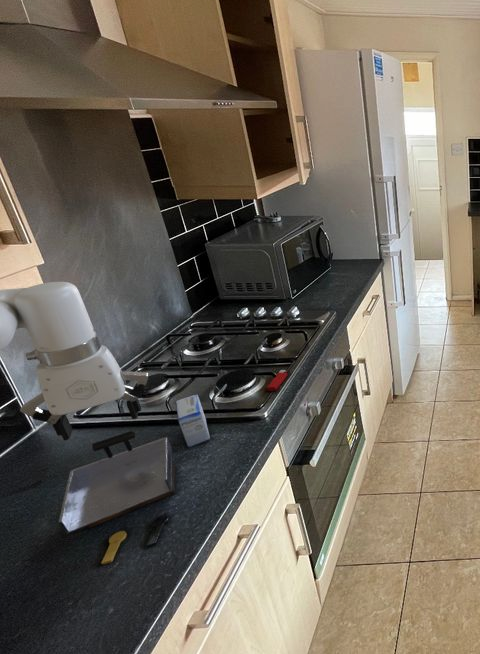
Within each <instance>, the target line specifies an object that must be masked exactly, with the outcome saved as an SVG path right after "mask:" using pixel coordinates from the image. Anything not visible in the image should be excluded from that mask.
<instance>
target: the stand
mask: <svg viewBox="0 0 480 654" xmlns="http://www.w3.org/2000/svg"><path fill="white" fill-rule="evenodd" d="M175 472H176V470H175V467H174V465H173V464H172V491H171V492H169V493H166V494H164V495H161V496H159V497H157V498H154V499H152V500H149V501H147V502H144V503H142V504H140V505H137V506H135V507H132V508H130V509H127V510H125V511H123V512H120V513H118V514H115V515H113V516H110V517H108V518H106V519H103V520H101V521H98V522H96V523H93V524H91V525H89V526H87V527H88V529H91V528H94V527H95V526H98V525H101V524H103V523H105V522H108V521H110V520H113V519H115V518H118V517H120V516H123V515H125V514H127V513H130V512H132V511H134V510H137V509H139V508H142V507H145V506H146V505H149V504H152V503H153V502H156V501H159V500H161V499H164V498H166V497H168V496H171V495H172V494H175V492H176V491H175V489H176V488H175V486H176V485H175V483H176V482H175V481H176V480H175V477H176V476H175V475H176V474H175Z"/></svg>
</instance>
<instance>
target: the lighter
mask: <svg viewBox="0 0 480 654" xmlns="http://www.w3.org/2000/svg"><path fill="white" fill-rule="evenodd" d="M288 375H289V372H288V371H287V370H286V369H280V370H279V372H277V373H276V375H275V376H276V377H275V376H274V377H273V379H272V380H271V382H269V383H268V385H267V386H266V388H265V391H268V392H276V391H277V390H278V389H279V388H280V386H281V384H282V383H283V382H284V381H285V379H286V378H287V377H288Z"/></svg>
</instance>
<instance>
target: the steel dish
mask: <svg viewBox="0 0 480 654" xmlns="http://www.w3.org/2000/svg"><path fill="white" fill-rule="evenodd" d="M135 438H136V433H135V431H134V430H129V431H126V432H123V433H120V434H117V435H114V436H111V437H108V438H105V439H103V440H99V441H96V442H93V443H92V445H91V447H92V450H93V452H99V451H100V450H103V451H104V452H105V454H106V456H107V457H104V458H102V459H99V460H97V461H94V462H91V463H89V464H85V465H82V466H79V467H77V468H74V469H71V470H70V471H69V475H68V478H67V483H66V488H65V492H64V497H63V501H62V506H61V510H60V514H59V519H58V524H59V526H61V528H62V530H63V531H64V532H65V534H66V535H70V534H71V533H72V534H73V533H74V532H77V531H78V530H82V529H84V528H86V527H88V526H89V525H91V524H93V523H96V522H98V521H101V520H103V519H106V518H108V517H110V516H113V515H115V514H118V513H120V512H123V511H125V510H127V509H130V508H132V507H135V506H137V505H140V504H142V503H144V502H147V501H149V500H152V499H154V498H157V497H159V496H161V495H164V494H166V493H169V492H171V491H172V465H173V448H172V445H171V443H170V441H169V438H168V436H165V437H162V438H159V439H156V440H153V441H151V442H148V443H145V444H142V445H139V446H137V447H134V448H133V447H132V445H131V444H132V443H130V440H133V439H135ZM120 443H124V446H125V447H126V449H127V450H125V451H122V452H119V453H117V454H114V453H112V450H111V449H110V447H112V446H114V445H118V444H120ZM113 454H114V455H113Z"/></svg>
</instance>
